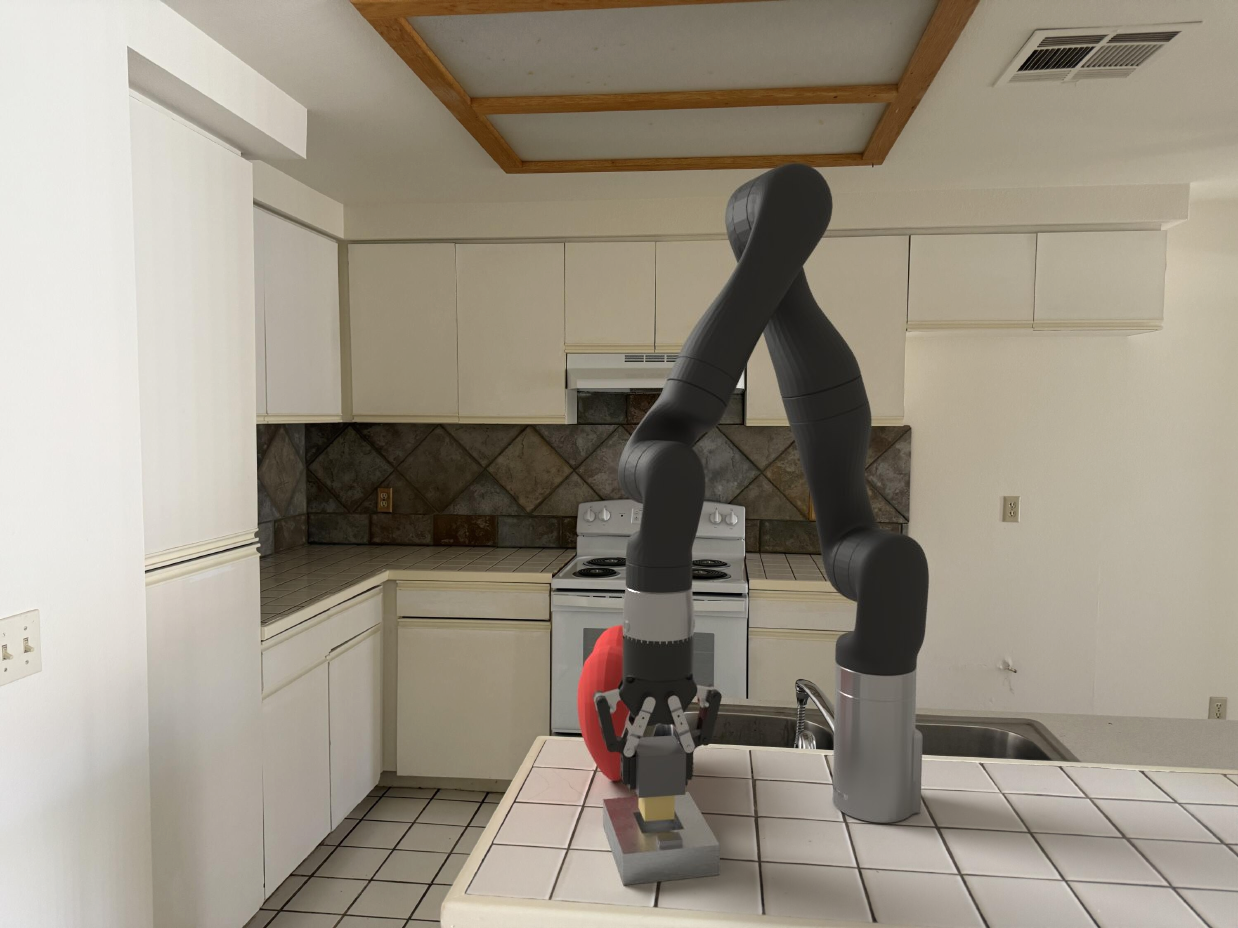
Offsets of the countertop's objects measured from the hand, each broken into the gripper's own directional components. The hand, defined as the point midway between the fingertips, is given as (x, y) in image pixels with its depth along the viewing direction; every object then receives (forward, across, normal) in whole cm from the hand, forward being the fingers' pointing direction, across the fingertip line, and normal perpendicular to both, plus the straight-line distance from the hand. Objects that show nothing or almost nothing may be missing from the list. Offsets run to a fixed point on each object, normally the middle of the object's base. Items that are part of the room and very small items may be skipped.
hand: (656, 783), depth 91 cm
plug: (+3, 0, 0) cm, 3 cm away
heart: (+7, +1, -18) cm, 19 cm away
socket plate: (+7, 0, 0) cm, 7 cm away
